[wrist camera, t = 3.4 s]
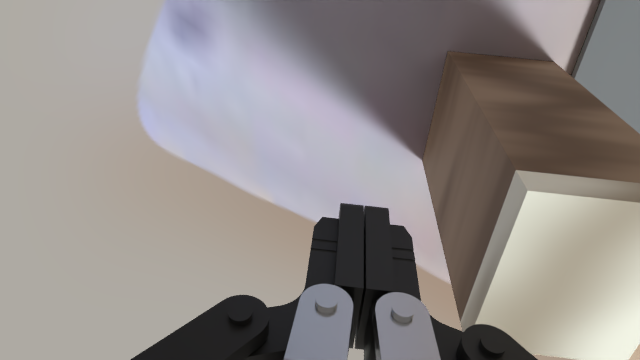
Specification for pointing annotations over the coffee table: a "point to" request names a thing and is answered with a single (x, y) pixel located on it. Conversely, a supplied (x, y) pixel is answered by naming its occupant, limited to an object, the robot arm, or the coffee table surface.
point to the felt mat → (613, 59)
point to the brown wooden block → (537, 206)
